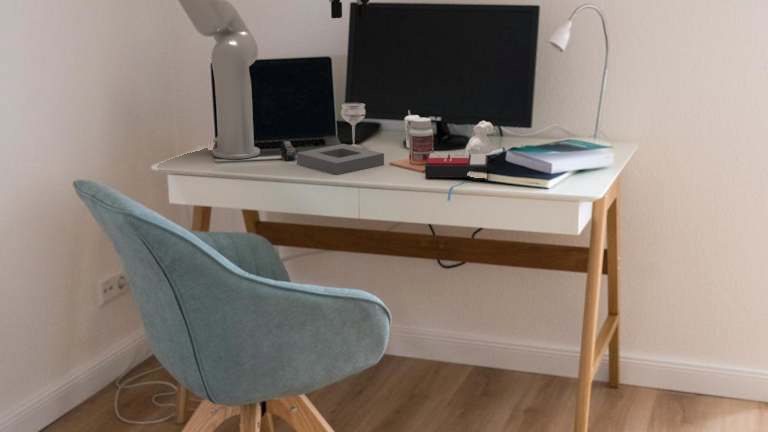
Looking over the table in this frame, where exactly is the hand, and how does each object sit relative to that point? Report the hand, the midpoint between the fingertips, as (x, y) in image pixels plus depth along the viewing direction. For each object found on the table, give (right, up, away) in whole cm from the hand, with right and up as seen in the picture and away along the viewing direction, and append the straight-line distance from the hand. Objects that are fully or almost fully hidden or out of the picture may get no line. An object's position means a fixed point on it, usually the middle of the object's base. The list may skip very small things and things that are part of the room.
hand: (349, 19), depth 247 cm
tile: (+19, -37, +2) cm, 42 cm away
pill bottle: (+18, -37, +2) cm, 41 cm away
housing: (-2, -37, +3) cm, 37 cm away
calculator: (+27, -40, -8) cm, 49 cm away
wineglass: (0, -31, +23) cm, 39 cm away
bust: (+34, -35, +9) cm, 50 cm away
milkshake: (+17, -31, +23) cm, 42 cm away
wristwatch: (-16, -36, +9) cm, 40 cm away
